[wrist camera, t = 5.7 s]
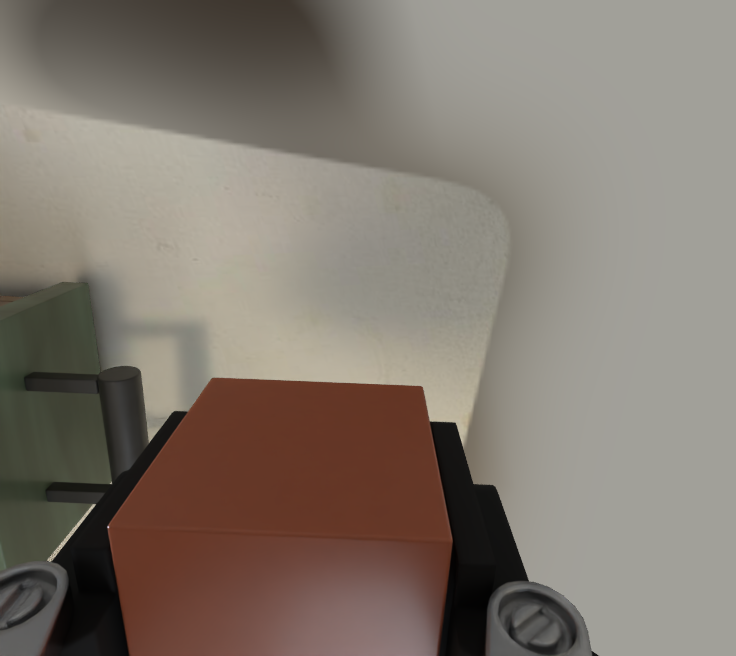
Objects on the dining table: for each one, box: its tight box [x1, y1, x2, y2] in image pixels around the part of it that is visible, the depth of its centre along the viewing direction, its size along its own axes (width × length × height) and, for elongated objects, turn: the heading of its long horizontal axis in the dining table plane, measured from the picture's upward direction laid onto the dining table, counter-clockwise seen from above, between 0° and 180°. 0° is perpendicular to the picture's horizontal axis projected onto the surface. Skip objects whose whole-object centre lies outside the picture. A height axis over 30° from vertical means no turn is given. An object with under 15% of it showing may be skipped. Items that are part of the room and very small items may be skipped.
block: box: [108, 378, 453, 656], centre depth 9 cm, size 4×4×4 cm
